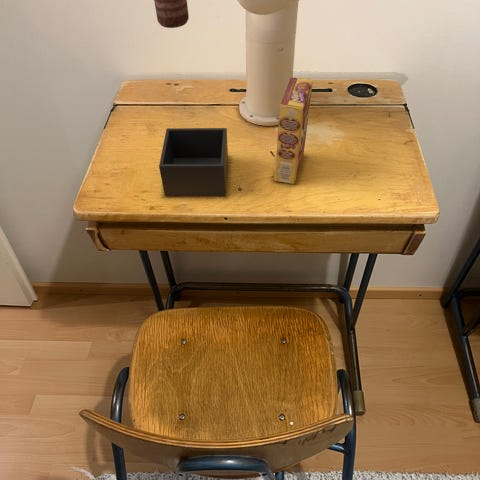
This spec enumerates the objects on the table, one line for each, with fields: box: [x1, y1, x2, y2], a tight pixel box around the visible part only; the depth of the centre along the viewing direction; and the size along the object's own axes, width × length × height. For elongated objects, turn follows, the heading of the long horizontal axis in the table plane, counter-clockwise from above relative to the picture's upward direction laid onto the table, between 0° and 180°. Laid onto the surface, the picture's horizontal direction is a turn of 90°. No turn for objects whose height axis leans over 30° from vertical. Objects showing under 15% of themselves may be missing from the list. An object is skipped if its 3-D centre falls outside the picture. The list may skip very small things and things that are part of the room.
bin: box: [158, 127, 229, 197], centre depth 85 cm, size 11×11×7 cm
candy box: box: [273, 77, 314, 185], centre depth 82 cm, size 9×4×15 cm, turn 165°
